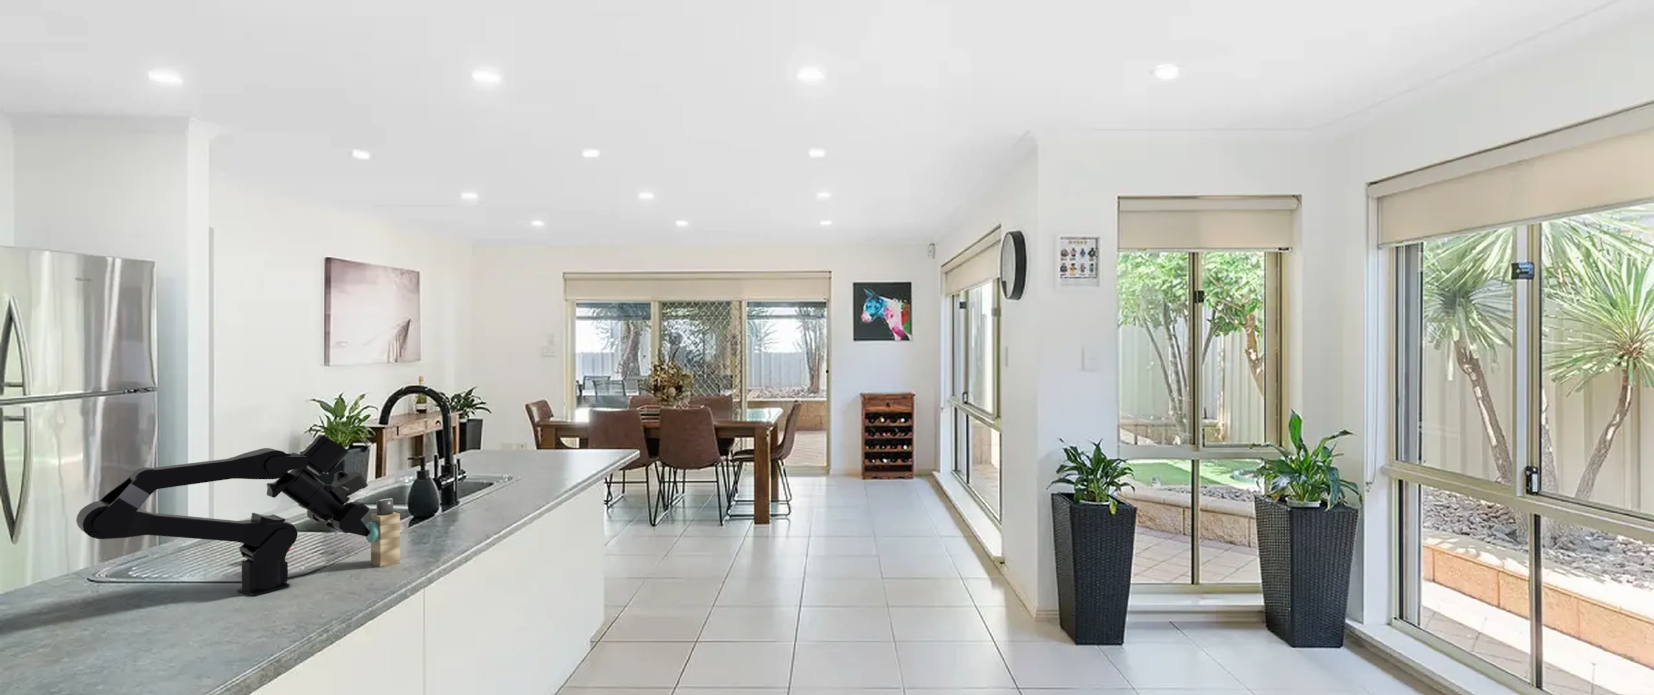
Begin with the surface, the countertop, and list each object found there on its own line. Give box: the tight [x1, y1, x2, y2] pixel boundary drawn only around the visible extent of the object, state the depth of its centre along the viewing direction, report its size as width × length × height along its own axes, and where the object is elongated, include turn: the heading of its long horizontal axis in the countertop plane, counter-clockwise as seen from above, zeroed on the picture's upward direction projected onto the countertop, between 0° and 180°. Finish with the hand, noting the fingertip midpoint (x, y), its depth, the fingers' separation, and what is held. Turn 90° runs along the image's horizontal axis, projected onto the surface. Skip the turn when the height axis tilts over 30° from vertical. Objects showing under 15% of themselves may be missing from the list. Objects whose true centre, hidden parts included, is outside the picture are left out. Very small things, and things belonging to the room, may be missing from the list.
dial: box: [375, 497, 395, 515], centre depth 166 cm, size 3×3×3 cm
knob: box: [365, 521, 379, 544], centre depth 166 cm, size 6×4×4 cm
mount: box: [370, 511, 401, 568], centre depth 166 cm, size 4×5×11 cm
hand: (367, 534), depth 163 cm, fingers closed, pressing on knob
